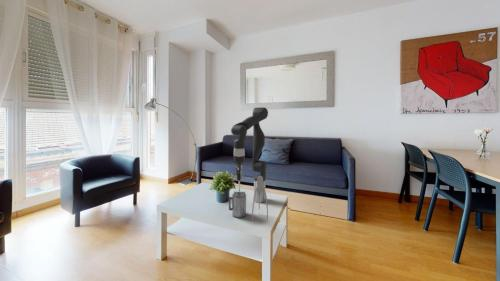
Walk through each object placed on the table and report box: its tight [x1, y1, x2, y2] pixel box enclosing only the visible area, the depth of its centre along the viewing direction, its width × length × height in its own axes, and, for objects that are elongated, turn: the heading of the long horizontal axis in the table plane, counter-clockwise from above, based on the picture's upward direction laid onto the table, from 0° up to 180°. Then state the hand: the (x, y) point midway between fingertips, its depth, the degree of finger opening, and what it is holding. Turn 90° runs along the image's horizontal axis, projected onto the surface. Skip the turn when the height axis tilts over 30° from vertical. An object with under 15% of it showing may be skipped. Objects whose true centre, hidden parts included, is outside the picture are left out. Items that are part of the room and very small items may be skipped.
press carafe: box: [228, 191, 247, 219], centre depth 142 cm, size 9×12×15 cm
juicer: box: [251, 176, 269, 222], centre depth 137 cm, size 10×9×30 cm
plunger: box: [238, 173, 243, 194], centre depth 140 cm, size 7×7×18 cm
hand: (239, 179), depth 139 cm, fingers open, 3 cm apart
